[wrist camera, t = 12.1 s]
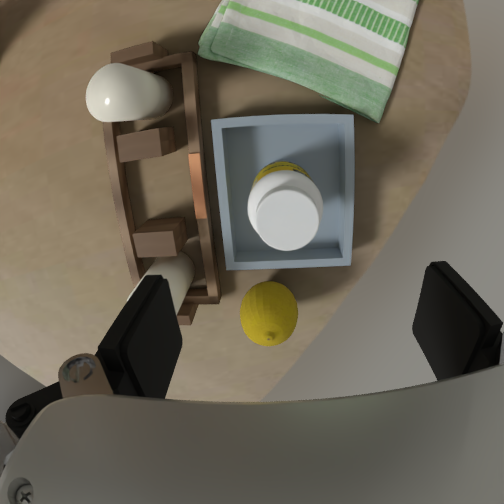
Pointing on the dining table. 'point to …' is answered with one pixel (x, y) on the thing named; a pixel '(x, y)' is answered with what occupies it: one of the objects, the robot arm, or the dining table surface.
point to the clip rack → (155, 145)
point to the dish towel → (317, 45)
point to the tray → (301, 153)
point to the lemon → (269, 313)
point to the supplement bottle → (285, 206)
